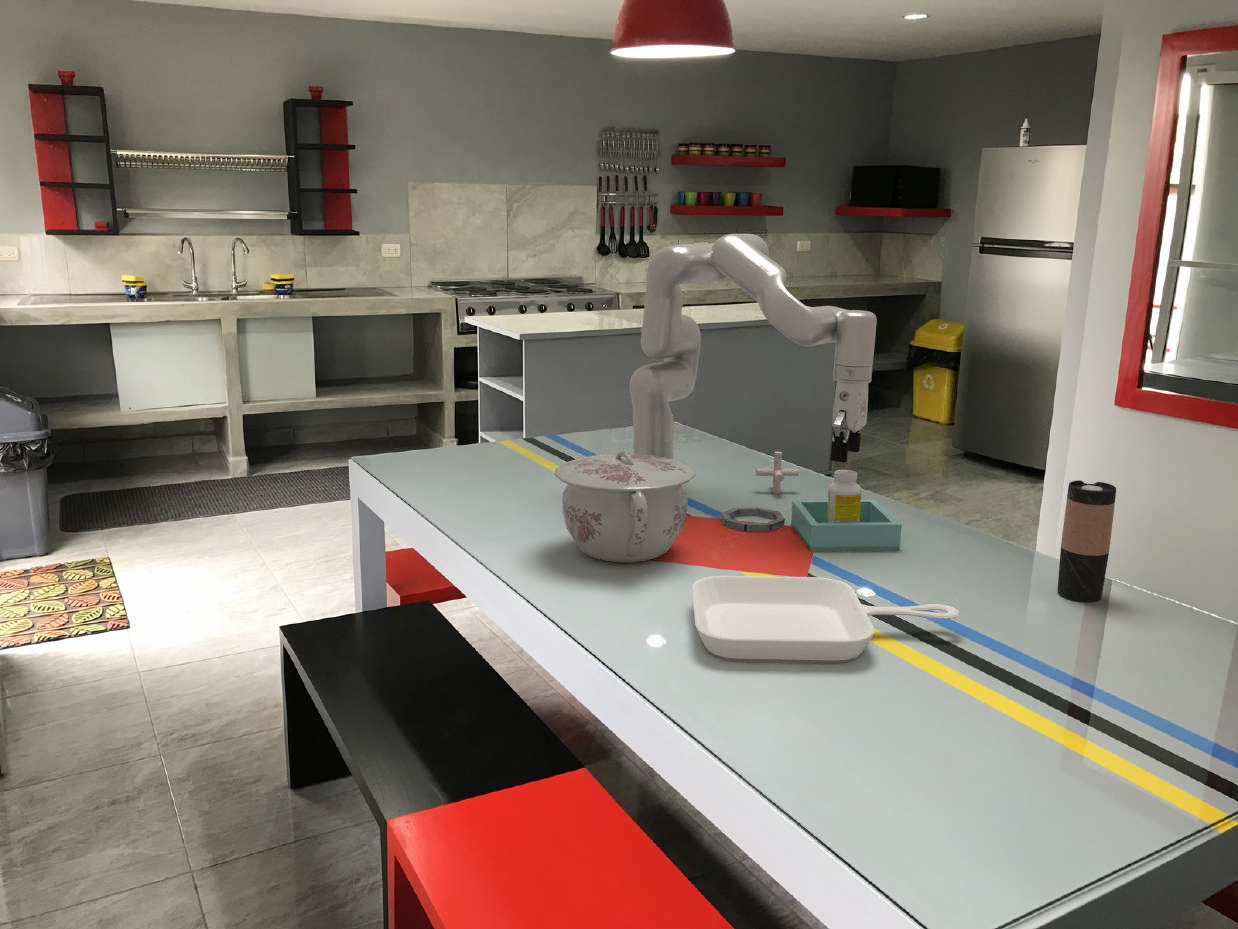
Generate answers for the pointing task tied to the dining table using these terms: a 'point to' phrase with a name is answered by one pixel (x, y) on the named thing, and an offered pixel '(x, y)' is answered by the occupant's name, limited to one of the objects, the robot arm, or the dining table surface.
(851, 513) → the supplement bottle
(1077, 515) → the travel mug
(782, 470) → the pipe connector
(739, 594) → the pan
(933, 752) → the dining table surface
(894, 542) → the bin
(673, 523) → the chamber pot
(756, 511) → the collar
